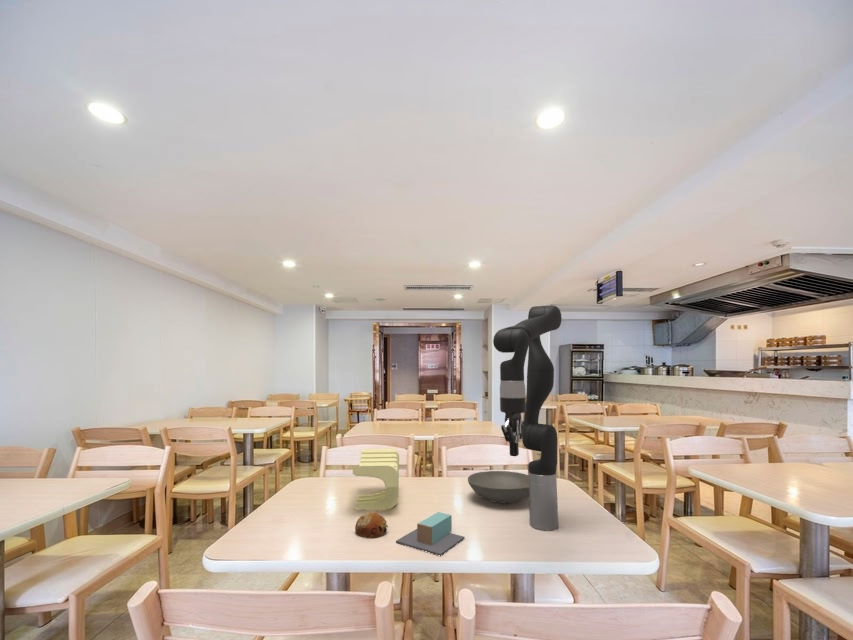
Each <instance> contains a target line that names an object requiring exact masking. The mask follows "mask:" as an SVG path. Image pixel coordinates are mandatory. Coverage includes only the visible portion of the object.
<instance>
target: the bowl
mask: <svg viewBox="0 0 853 640" xmlns="http://www.w3.org/2000/svg"><path fill="white" fill-rule="evenodd" d="M467 483H468V485H469V486H470V488H471V489H472V490H473V492H474V493H475V494H477V495H478V496H479V497H480V498H482V499H484V500H486V501H491V502H494V503H498V504H499V503H500V504H515V503H519V502H521V501H524V500H526V499H529V480H528V474H526V473H522V472H517V471H516V472H515V471H507V470H489V471H479V472H475V473H472V474H470V475H469V476H468V477H467Z"/></svg>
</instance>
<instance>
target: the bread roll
mask: <svg viewBox="0 0 853 640" xmlns="http://www.w3.org/2000/svg"><path fill="white" fill-rule="evenodd" d="M388 528H389V525H388V524H387V520H386V519H385V517H384V516H383V515H382V514H380V513H379V512H377V511H373V510H372V511H371V510H370V511H367V512H365V513H364V514H362V515H360V516H359V517H358V519H357V521H356V523H355V526H354V529H355V533H356V535H357V536H358V537H362V538H366V539H376V538H380V537H382V536H384V535H385V534H386V533H387V532H388Z"/></svg>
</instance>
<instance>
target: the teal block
mask: <svg viewBox="0 0 853 640" xmlns="http://www.w3.org/2000/svg"><path fill="white" fill-rule="evenodd" d="M452 524H453V523H452V515H451V514H449V513H444V512H440V511H437V512H436V513H433V514H432V515H430V516H429V517H427V518H425V519H423V520H421V521H420V522H417V525H416V529H417V541H418V542H422V543H425V544H429V545H432V544H434V543H435V542H437V541H438V540H440V539H441V538H443V537H444V536H446V535H447V534H449V533H451V532H453V531H452V530H453V529H452V526H453V525H452Z"/></svg>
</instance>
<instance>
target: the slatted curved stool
mask: <svg viewBox="0 0 853 640" xmlns="http://www.w3.org/2000/svg"><path fill="white" fill-rule="evenodd" d="M358 464H359V465H354V466H353V465H352V475H353V476H355V477H368V478H376V479H378V480H381V481H382V482H383V484H384V487H385V488H386V489H384V490H383V491H380V492H375V493H366V494H365V493H364V494H358V496H357V499H356V502H355V508H354V510H355V509H375V510H390V509H393V508H394V507H395V506H396V505H397V503H398V500H399V490H400V487H399V478H400V475H399V474H400V473H399V471H400V453H398V451H397V450H396V449H394V448H362V449H361V454H360V460H359V463H358Z"/></svg>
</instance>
